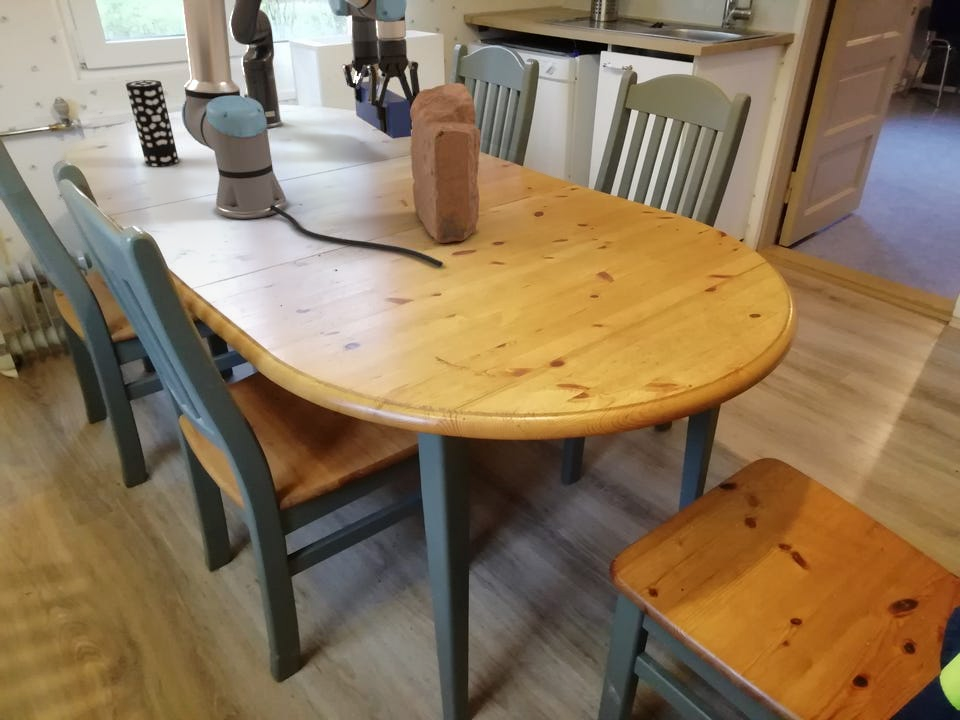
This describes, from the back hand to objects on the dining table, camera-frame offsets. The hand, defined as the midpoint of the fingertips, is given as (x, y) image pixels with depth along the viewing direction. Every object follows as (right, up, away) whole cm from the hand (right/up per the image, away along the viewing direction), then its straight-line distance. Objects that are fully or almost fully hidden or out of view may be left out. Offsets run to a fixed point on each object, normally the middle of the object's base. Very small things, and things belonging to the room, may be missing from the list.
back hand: (369, 100), depth 201 cm
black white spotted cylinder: (-54, -13, -20) cm, 59 cm away
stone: (+25, -46, -50) cm, 73 cm away
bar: (+5, -9, -4) cm, 11 cm away
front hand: (+9, -13, -12) cm, 20 cm away
